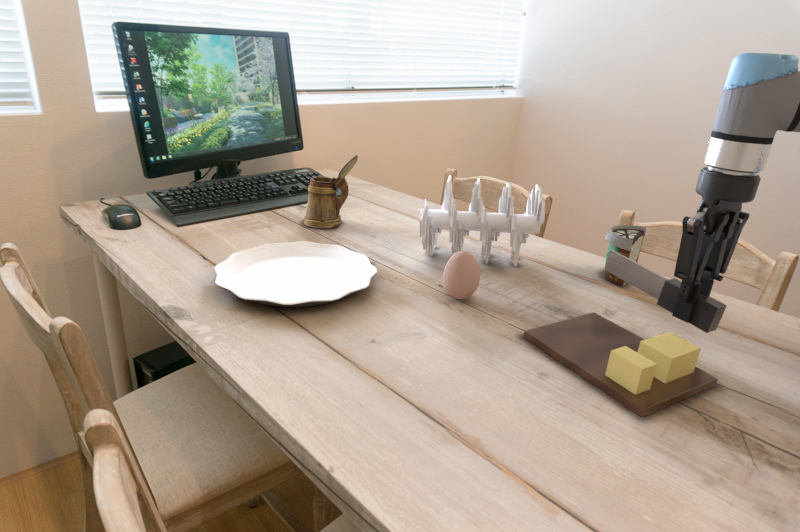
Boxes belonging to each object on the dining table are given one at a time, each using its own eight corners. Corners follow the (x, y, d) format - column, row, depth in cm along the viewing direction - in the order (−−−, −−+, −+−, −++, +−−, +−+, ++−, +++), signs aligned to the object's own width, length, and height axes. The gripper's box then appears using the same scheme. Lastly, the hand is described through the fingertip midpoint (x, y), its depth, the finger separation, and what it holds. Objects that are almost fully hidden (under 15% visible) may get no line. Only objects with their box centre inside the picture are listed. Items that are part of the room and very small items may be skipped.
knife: (716, 330, 81) (727, 305, 79) (706, 333, 80) (717, 308, 78) (608, 269, 97) (615, 247, 95) (599, 271, 96) (606, 249, 94)
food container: (607, 263, 117) (616, 220, 113) (636, 271, 114) (647, 226, 110) (590, 280, 108) (599, 233, 104) (621, 288, 105) (632, 240, 101)
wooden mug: (348, 233, 126) (350, 158, 120) (297, 225, 130) (296, 151, 123) (362, 223, 134) (364, 152, 128) (313, 216, 138) (313, 146, 131)
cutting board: (715, 385, 74) (718, 378, 74) (641, 417, 67) (644, 409, 66) (592, 318, 92) (594, 312, 91) (523, 337, 84) (524, 330, 84)
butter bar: (693, 372, 75) (701, 347, 74) (665, 383, 72) (672, 358, 70) (662, 355, 79) (669, 331, 78) (633, 365, 76) (640, 341, 74)
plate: (184, 277, 98) (182, 265, 97) (307, 242, 119) (306, 232, 118) (283, 334, 81) (282, 320, 80) (406, 281, 102) (407, 270, 101)
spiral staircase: (422, 262, 122) (533, 270, 119) (412, 255, 105) (542, 264, 101) (428, 184, 124) (538, 189, 120) (419, 165, 106) (547, 170, 102)
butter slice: (650, 389, 70) (657, 363, 69) (635, 395, 69) (642, 369, 68) (619, 370, 74) (625, 345, 73) (604, 375, 73) (610, 350, 72)
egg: (484, 303, 95) (490, 255, 92) (453, 308, 92) (458, 260, 89) (464, 288, 101) (469, 243, 97) (434, 293, 98) (438, 247, 94)
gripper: (735, 162, 82) (694, 299, 91) (673, 167, 74) (635, 315, 83) (787, 172, 76) (738, 318, 85) (726, 179, 68) (678, 338, 77)
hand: (687, 316), depth 84 cm, fingers closed on knife, 2 cm apart
